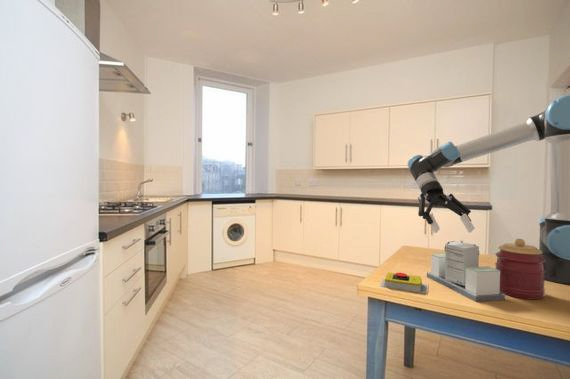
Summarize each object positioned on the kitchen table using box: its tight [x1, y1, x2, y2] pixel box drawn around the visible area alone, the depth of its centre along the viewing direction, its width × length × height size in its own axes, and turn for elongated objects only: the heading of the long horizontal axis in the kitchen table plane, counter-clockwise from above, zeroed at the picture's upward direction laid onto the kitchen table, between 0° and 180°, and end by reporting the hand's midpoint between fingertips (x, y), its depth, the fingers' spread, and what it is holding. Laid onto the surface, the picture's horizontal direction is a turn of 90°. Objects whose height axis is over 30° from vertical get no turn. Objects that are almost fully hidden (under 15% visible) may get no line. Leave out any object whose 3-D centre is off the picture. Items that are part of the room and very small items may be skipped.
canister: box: [494, 238, 546, 300], centre depth 99 cm, size 13×13×18 cm
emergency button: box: [379, 272, 429, 294], centre depth 104 cm, size 9×4×15 cm
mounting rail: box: [426, 271, 506, 303], centre depth 103 cm, size 24×10×2 cm, turn 9°
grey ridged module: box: [444, 241, 480, 286], centre depth 103 cm, size 7×7×13 cm
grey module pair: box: [430, 253, 500, 295], centre depth 103 cm, size 22×8×7 cm, turn 9°
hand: (454, 230), depth 107 cm, fingers open, 13 cm apart
